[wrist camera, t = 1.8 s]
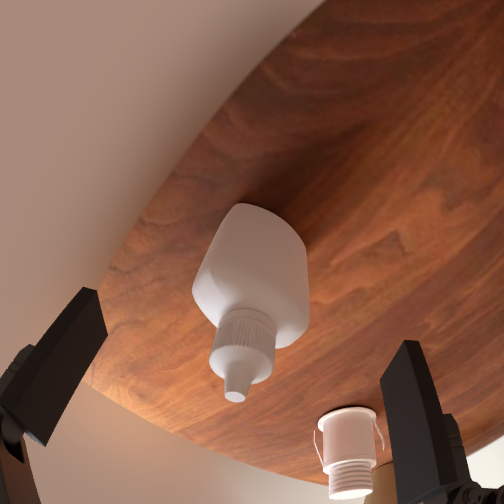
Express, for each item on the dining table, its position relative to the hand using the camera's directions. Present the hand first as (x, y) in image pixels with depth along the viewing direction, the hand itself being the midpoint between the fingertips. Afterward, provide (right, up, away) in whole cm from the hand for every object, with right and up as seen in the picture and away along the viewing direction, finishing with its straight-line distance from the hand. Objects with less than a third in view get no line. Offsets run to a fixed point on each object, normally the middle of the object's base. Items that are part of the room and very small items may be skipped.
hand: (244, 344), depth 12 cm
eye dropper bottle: (+1, +5, +8) cm, 10 cm away
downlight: (+12, -16, +19) cm, 27 cm away
